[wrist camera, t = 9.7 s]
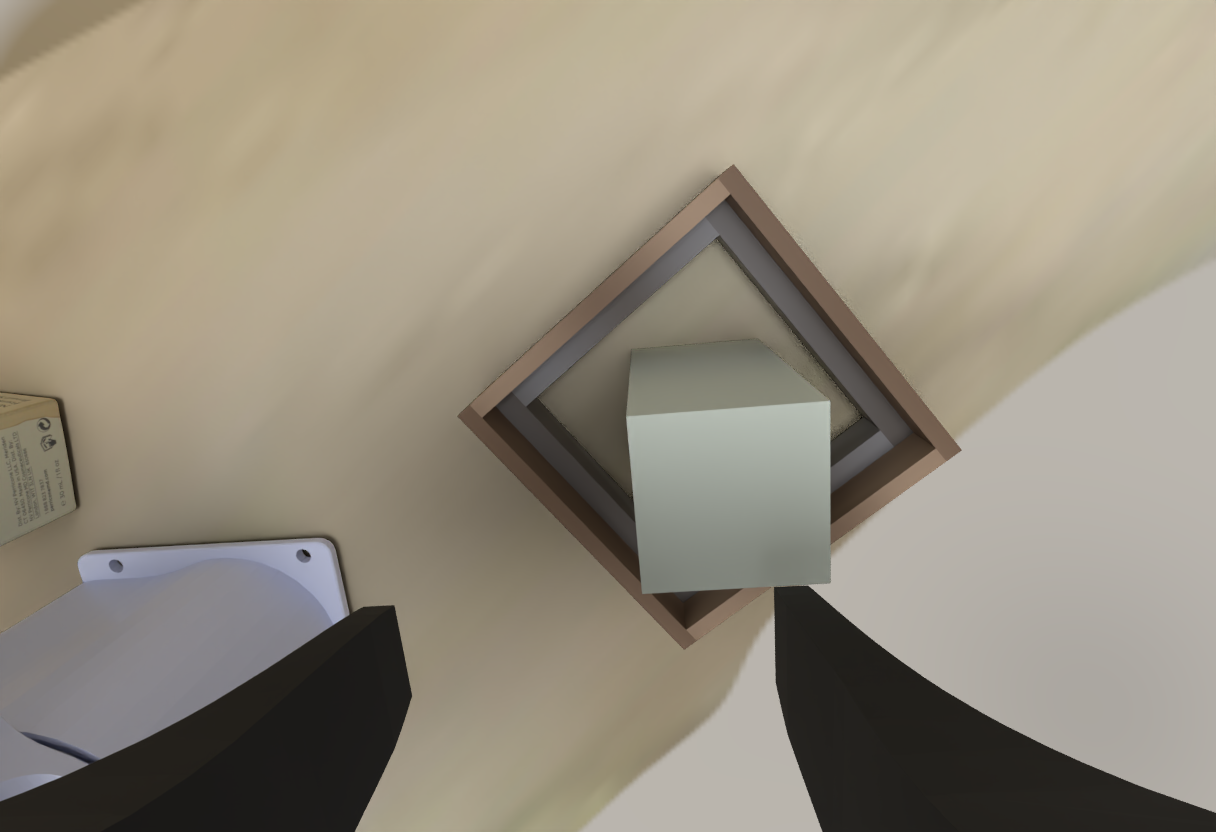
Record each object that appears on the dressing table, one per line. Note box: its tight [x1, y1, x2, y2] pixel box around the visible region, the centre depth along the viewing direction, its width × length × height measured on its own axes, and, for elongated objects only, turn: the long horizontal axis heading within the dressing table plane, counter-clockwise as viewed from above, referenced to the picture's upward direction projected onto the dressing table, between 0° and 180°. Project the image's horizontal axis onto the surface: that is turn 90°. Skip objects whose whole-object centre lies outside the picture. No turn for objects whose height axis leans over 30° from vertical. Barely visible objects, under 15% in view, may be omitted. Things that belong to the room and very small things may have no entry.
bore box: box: [458, 164, 961, 649], centre depth 19 cm, size 10×10×3 cm
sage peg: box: [626, 339, 831, 594], centre depth 17 cm, size 4×4×8 cm
